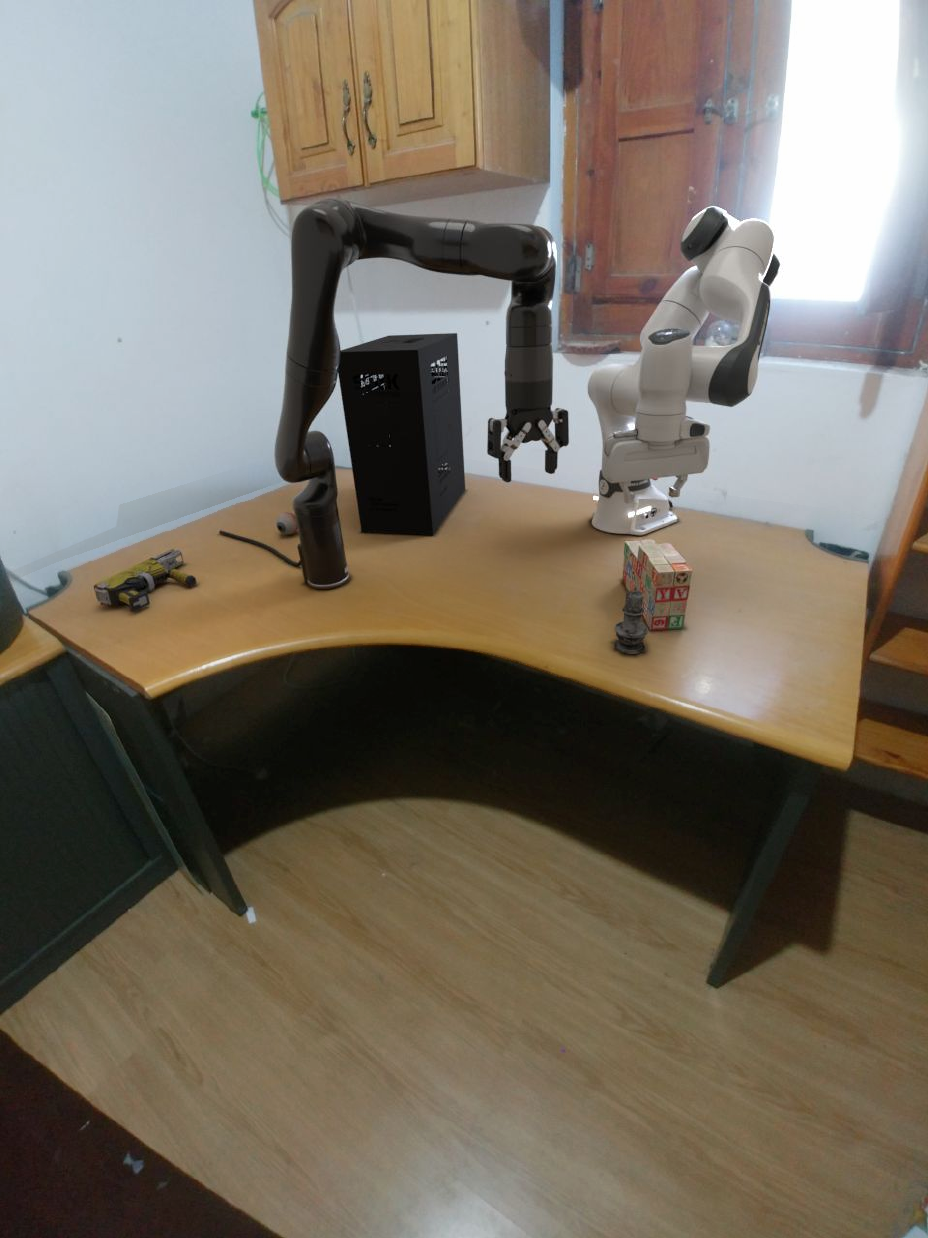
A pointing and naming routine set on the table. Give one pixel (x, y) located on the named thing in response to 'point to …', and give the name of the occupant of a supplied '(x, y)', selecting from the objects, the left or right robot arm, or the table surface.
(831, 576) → the table surface
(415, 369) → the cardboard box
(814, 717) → the table surface
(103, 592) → the toy gun
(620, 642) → the grey chess piece
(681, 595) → the stack of blocks
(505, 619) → the table surface
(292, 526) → the eyeball
